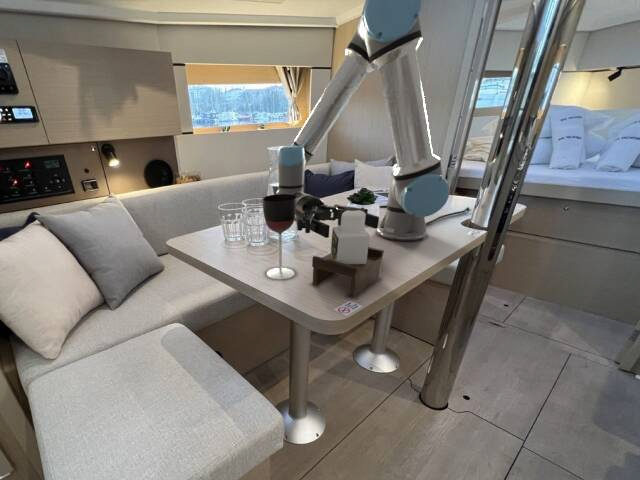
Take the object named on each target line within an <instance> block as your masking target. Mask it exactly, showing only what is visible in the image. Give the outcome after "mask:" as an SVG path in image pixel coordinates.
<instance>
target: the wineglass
mask: <svg viewBox="0 0 640 480" xmlns="http://www.w3.org/2000/svg"><path fill="white" fill-rule="evenodd" d="M275 194H276V193H275ZM275 194H270V195H266V196H264V197H262V198H261V199H262V202H261V203H262V211H263V216H264V220H265V225H266V226H267V228H268V229H270V230H271V231H273V232H275V233H277V234H278V267H275V268H271V269H269V270H268V271H267V272H266V276H267V277H268V278H270V279H273V280H286V279H290V278H292V277H294V275H295V271H294V270H293V269H290V268H288V267H283V253H282V252H283V251H282V250H283V249H282V248H283V245H282V240H283V239H282V237H283V235H282V234H283V233H284V232H286V231H287V230H289V229H290V228H291V227H292V226H293V224H294V222H295V221H294V219H295V214H296V203H297V196H295V195H291V194H276V195H275Z"/></svg>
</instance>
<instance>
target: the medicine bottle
mask: <svg viewBox="0 0 640 480" xmlns="http://www.w3.org/2000/svg"><path fill="white" fill-rule="evenodd" d="M365 220H366V212H365V211H364V210H362V209H360V207H354V208H345V209H342V210H340V211H339V214H338V219H337V226H333V227H332V229H331V230H332V232H331V246H330V253H331V256H332V258H333V260H334V261H336V262H339V263H343V264H347V265H356V264H366V261H367V253H368V246H369V247H370V237H371V235H370V233H368V232H367V230H365V229H366V228H365V227H366V225H365Z"/></svg>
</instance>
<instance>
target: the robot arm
mask: <svg viewBox="0 0 640 480" xmlns="http://www.w3.org/2000/svg"><path fill="white" fill-rule="evenodd" d="M422 6H423V0H365V2H364V5H363V8H362V13H361V16H360V19H359V21H358V24H357V25H356V26H357V27H356V29H355V31H354V34H353V36H352V38H351V40H350V41H349V43H348V45H347V46H346V49H345V57H344V59H343V60H342V62H341V64H340V65H339V66H338V68H337V70H336V72H335V74H334V75H333V77H332V78H331V80H330V81H329V83H328V85H327V86H326V88H325V90H324V92H323V93H322V95H321V97H320V98H319V100H318V102H317V103H316V105H315V107H314V108H313V110H312V111H311V113H310V115H309V117H308V118H307V120H306V121H305V123H304V125H303V126H302V128H301V130H300V131H299V133H298V135H297V136H296V138H295V139H294V141H293V142H292V144H291V145H284V146H280V147H279V148H278V154H277V155H278V158H277V162H278V163H277V164H278V165H277V166H278V189H277V190H276V192H275V194H274V195H276V194H291V195H295V196H297V203H296V214H295V219H294V222H296V230H297V231H298V232H300V231H303V229H304V233H305V234H311V232H313V233H315V234H317V235H319V236H321V237H323V238H325V239H327V238H329V237H330V225H329V224H327V223H325V222H326V221H332V222H334V221H336V220H338V214H339V211H340V210H342V209H345V208H355V206H346V205H340V204H337V203H336V204H334V205H333V206H332V205H328V204H325V203H324V201H323V200H322V199H321V197H317V196H315V195H311V194H310V193H305V192H304V181H305V179H304V178H305V169H306V167H307V166H308V164H309V163H310V161H311V160H312V158H313V156H314V155H315V153H316V152H317V150H318V148H319V147H321V146H320V145H321V144H322V142H323V141H324V140H325V138H326V136H327V135H328V133H329V132H330V131H331V129H332V128H333V126H334V125H335V123H336V122H337V120H338V118H340V115H341V114H342V113H343V111H344V109H345V108H346V107H347V105H348V104H349V102H350V100H351V99H352V97H353V96H354V94H355V93H356V91H357V90H358V88H359V87H360V85H361V84H362V82H363V81H364V79H365V78H366V76H367V75H368V73H372V72H374V71H375V69H377V70H378V75H379V76H378V77H379V80H380V85H381V89H382V95H383V99H384V105H385V109H386V115H387V120H388V125H389V130H390V134H391V135H390V136H391V139H392V144H393V149H394V154H395V159H396V163H394V165H393V166H392V171H391V172H390V182H389V190H388V196H387V203H386V209H385V213H384V214H383V216H382V218H381V220H380V216H378V215H374V214H372V213H368V211H369V209H368V208H365V207H361V208H360V207H359V208H360V209H362V210H364V211H365V212H366V220H365V227H366V226H367V227H370V228H372V229H375V230H376V229H377V231H376V232H377V235H378V236H380V237H381V238H384V239H387V240H390V241H391V240H393V241H400V242H414V241H419V240H420V241H421V240H422V239H424V238H425V237H426V234H427V225H429V224H432V223H434V222H436V221H438V220H440V219H442V218H446V217H450V216H453V215H459V214H463V213H465V212H467V211H470V207H468V206H466V208H465V209H464V210H459V211H455V212H449V213H446V214H443V215H440V216H437V217H435V218H434V219H432V220H430V221H427V222H426V217H430V216H433V215H434V214H437V212H439V211H440V210H442V208H443V207H444V206H445V205H446V204H447V202H448V200H449V197H450V194H451V193H450V192H451V188H450V185H449V182H448V180H447V178H446V177H444V175H443V168H442V161H441V158H440V157H439V156H437V155H435V154H434V153H433V147H432V141H431V135H430V129H429V122H428V115H427V110H426V103H425V98H424V97H425V96H424V91H423V86H422V85H423V83H422V79H421V72H420V66H419V59H418V52H417V51H418V48H419V46H420V44H421V42H422V41H423V34H422V26H421V21H420V20H421V19H420V15H421V13H422ZM379 221H380V222H379Z"/></svg>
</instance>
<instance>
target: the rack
mask: <svg viewBox="0 0 640 480" xmlns="http://www.w3.org/2000/svg"><path fill="white" fill-rule="evenodd" d="M384 252H385V251H384V249H380V248H376V247H370V246H369V247H368V253H367V261H366V264H356V265H347V264H343V263H339V262H336V261H334V260H333V258H332V256H331V252H330V253H328V254H326V255H325V256H323V257H320V256H317V255H314V256H313V257H312V259H311V260H312V262H311V263H312V264H311V267H312V285H313V286H318V285H321V284H322V283H323V282H325V281H326V280H328V279H330V278H331V277H333V276H334V275H339V276H343V277H347V278H348V279H349V278H350V279H349V282H350V283H349V288H348V289H349V290H348V297H349V298H351V299H354V298H355V297H356V296H358V295H359V294H360V293H362V292H363V291H364V290H365V289H367V288H368V287H370V286H371V285H372V284H374V283H375V282H376V281H377V280H379V278H380V271H381V265H382V260H383V258H384Z"/></svg>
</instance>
